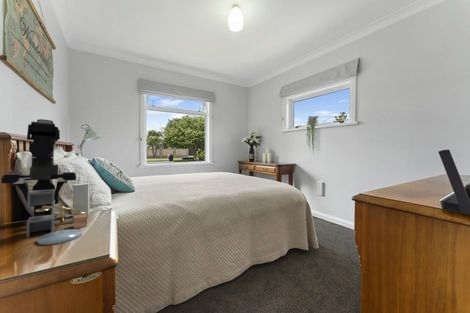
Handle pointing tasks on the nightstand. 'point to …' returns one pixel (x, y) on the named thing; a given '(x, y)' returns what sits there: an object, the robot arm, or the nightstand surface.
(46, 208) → the balance
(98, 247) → the nightstand surface
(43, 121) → the robot arm
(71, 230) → the dish
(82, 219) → the block
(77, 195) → the skincare box
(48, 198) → the covering hood
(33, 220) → the empty hood
